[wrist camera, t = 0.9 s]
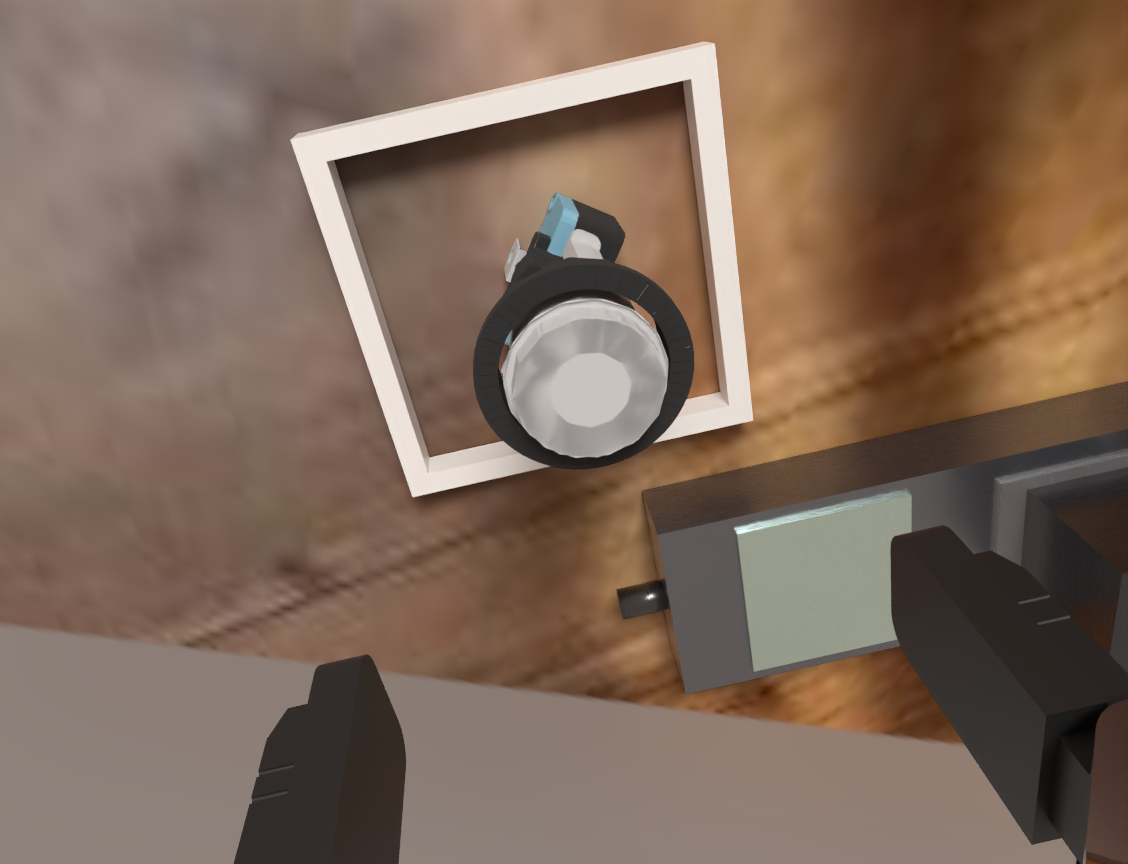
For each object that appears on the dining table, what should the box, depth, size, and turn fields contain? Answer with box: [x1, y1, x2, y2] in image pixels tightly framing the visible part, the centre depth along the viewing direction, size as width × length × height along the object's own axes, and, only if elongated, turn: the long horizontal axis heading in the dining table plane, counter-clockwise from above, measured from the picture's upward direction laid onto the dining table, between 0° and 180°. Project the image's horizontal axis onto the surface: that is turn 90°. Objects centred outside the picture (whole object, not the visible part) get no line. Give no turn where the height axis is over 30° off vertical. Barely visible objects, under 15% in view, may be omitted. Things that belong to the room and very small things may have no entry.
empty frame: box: [291, 41, 753, 497], centre depth 28 cm, size 13×13×1 cm
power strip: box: [616, 382, 1128, 694], centre depth 31 cm, size 27×8×8 cm, turn 101°
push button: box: [473, 193, 694, 469], centre depth 24 cm, size 7×5×10 cm
